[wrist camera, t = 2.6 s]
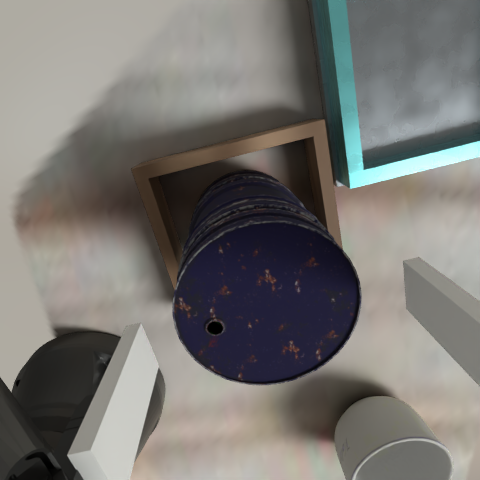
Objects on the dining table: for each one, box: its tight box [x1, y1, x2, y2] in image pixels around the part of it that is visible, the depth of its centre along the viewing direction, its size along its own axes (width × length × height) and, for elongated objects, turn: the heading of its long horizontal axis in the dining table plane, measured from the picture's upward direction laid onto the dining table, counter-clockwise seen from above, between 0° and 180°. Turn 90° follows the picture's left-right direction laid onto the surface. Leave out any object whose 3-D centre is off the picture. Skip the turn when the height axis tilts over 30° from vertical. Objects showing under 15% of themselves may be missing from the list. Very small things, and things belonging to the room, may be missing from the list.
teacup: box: [334, 396, 454, 480], centre depth 37 cm, size 14×11×8 cm
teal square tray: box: [308, 0, 480, 189], centre depth 25 cm, size 16×16×4 cm
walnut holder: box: [131, 119, 343, 290], centre depth 29 cm, size 15×15×4 cm
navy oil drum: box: [173, 170, 361, 385], centre depth 24 cm, size 10×10×15 cm
